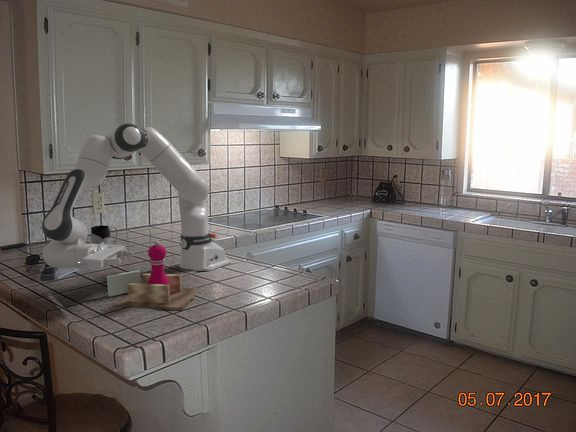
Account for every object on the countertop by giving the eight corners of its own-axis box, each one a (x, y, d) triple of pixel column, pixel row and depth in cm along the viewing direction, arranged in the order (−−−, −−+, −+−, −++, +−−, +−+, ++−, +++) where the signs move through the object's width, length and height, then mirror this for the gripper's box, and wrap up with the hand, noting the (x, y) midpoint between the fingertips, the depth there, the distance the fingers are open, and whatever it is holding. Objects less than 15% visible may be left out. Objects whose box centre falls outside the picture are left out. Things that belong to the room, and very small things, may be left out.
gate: (108, 295, 184) (106, 276, 183) (140, 288, 191) (138, 270, 190) (109, 296, 183) (108, 277, 182) (141, 289, 190) (140, 270, 188)
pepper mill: (171, 293, 186) (169, 238, 182) (166, 300, 179) (165, 243, 175) (150, 293, 186) (148, 238, 182) (145, 300, 179) (143, 243, 175)
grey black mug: (87, 261, 234) (84, 228, 231) (111, 253, 247) (109, 222, 244) (101, 263, 230) (99, 229, 227) (125, 255, 242) (123, 223, 240)
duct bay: (113, 307, 176) (111, 287, 174) (138, 288, 195) (136, 270, 194) (182, 310, 172) (181, 289, 171) (201, 290, 192) (200, 272, 190)
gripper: (72, 255, 174) (112, 256, 172) (102, 241, 194) (138, 242, 192) (74, 273, 175) (113, 275, 173) (103, 257, 195) (139, 258, 193)
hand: (126, 257), depth 182 cm, fingers open, 8 cm apart
